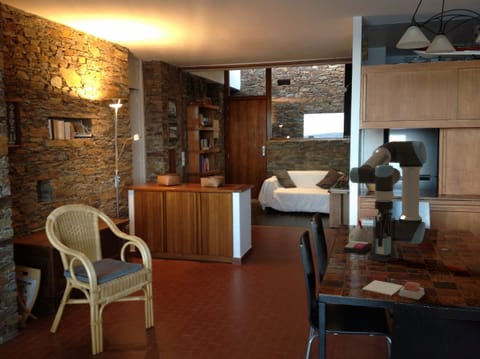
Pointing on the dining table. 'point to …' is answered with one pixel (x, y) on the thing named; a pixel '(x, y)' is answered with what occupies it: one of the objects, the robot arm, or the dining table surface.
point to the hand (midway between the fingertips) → (383, 252)
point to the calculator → (356, 247)
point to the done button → (412, 286)
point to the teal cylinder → (385, 244)
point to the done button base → (412, 293)
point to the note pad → (382, 287)
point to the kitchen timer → (360, 234)
